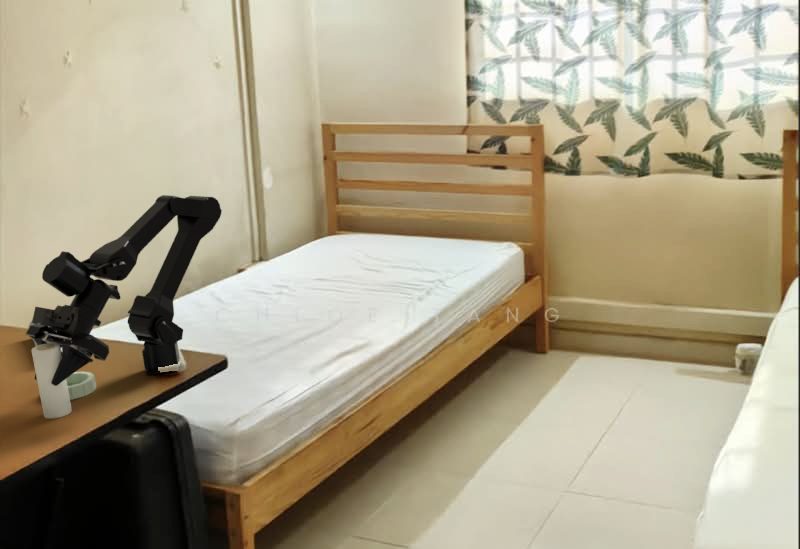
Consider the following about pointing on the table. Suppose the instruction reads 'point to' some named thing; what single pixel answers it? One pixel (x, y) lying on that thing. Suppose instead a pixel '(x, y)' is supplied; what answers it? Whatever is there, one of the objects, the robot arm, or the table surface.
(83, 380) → the holder
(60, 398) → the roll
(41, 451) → the table surface
